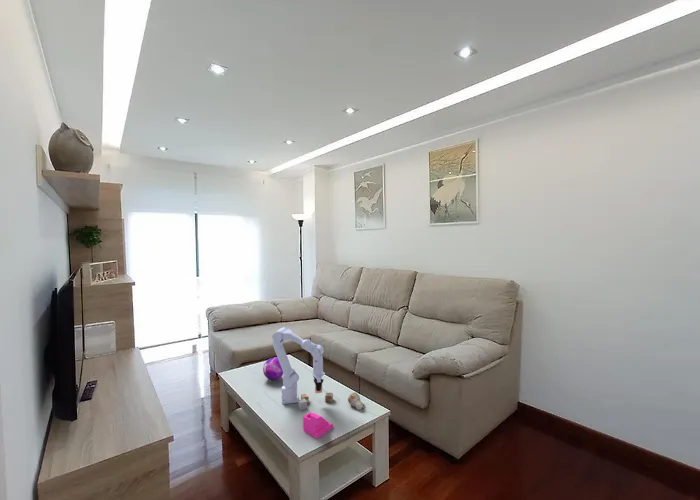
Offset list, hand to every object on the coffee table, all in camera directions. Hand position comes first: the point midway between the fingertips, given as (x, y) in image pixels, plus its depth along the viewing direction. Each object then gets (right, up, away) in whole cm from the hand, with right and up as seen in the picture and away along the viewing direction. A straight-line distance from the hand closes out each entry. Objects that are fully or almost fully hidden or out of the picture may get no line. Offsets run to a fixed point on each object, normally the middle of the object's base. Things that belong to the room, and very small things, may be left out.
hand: (318, 388), depth 190 cm
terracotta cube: (0, -2, 0) cm, 2 cm away
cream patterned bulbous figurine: (+23, -10, -2) cm, 25 cm away
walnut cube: (+6, -9, +5) cm, 12 cm away
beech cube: (-9, -9, +4) cm, 13 cm away
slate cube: (-9, -10, -3) cm, 14 cm away
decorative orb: (-34, -8, +34) cm, 49 cm away
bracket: (+2, -11, -23) cm, 26 cm away
